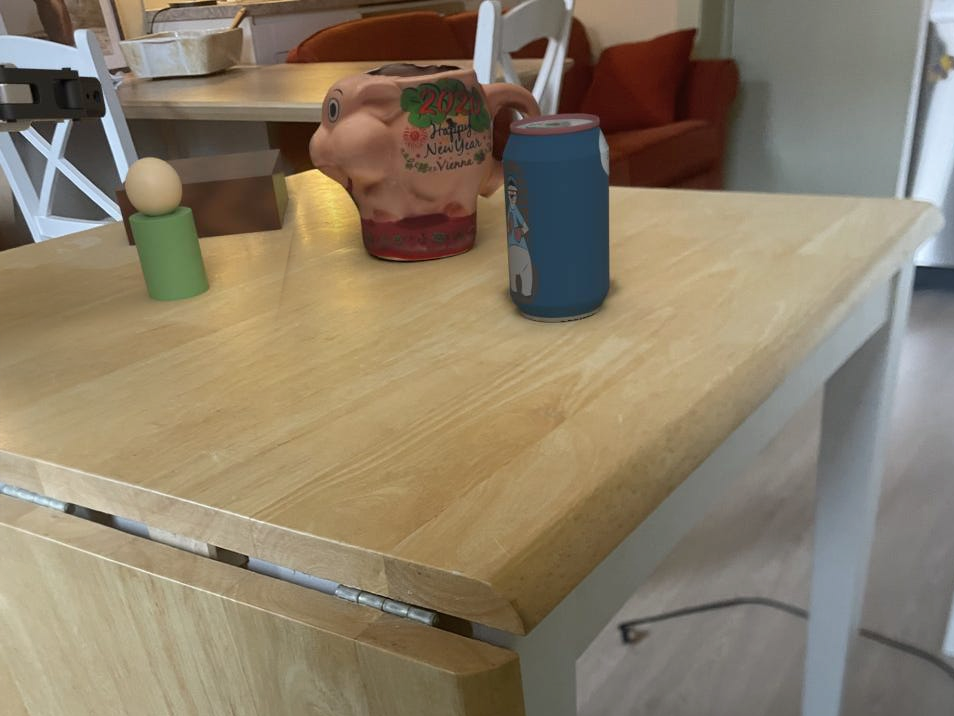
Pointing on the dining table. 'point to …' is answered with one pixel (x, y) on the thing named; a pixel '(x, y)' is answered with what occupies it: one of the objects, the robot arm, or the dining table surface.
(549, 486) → the dining table surface
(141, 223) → the peg doll
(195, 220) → the walnut block
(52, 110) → the robot arm
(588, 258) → the soda can
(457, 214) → the pink ceramic mug
